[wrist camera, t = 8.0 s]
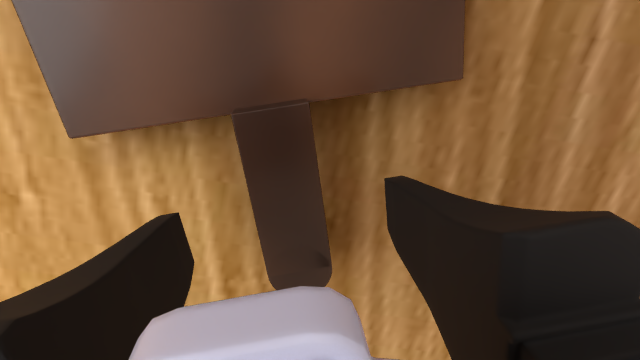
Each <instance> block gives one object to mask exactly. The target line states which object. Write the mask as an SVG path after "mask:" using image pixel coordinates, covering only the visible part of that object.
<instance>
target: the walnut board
mask: <svg viewBox="0 0 640 360" xmlns="http://www.w3.org/2000/svg"><path fill="white" fill-rule="evenodd" d="M12 3H13V5H14V8H15V10H16V12H17V15H18V17H19V19H20V22H21V24H22V27H23V29H24V31H25V34H26V36H27V39H28V41H29V43H30V46H31V48H32V51H33V53H34V55H35V58H36V60H37V62H38V65H39V67H40V70H41V72H42V74H43V77H44V79H45V82H46V84H47V86H48V89H49V91H50V93H51V96H52V98H53V101H54V103H55V105H56V108H57V110H58V113H59V115H60V117H61V120H62V122H63V125H64V127H65V129H66V132H67V134H68V136H69V138H72V139H73V138H80V137H87V136H93V135H100V134H106V133H113V132H120V131H126V130H133V129H139V128H146V127H152V126H159V125H166V124H172V123H179V122H185V121H192V120H199V119H205V118H212V117H218V116H225V115H231V117H232V122H233V126H234V130H235V135H236V139H237V143H238V148H239V152H240V156H241V161H242V165H243V170H244V174H245V178H246V183H247V187H248V191H249V196H250V200H251V204H252V209H253V213H254V217H255V222H256V226H257V230H258V235H259V239H260V244H261V248H262V252H263V257H264V261H265V265H266V270H267V274H268V278H269V281H270V283H271V284H272V286H273V287H274V288H275V289H276V290H282V289H288V288H293V287H299V286H309V287H325V286H326V285H327V283H328V282H329V280H330V277H331V274H332V262H331V255H330V248H329V241H328V234H327V227H326V220H325V213H324V206H323V198H322V191H321V184H320V177H319V170H318V163H317V156H316V149H315V142H314V135H313V128H312V121H311V114H310V107H309V103H311V102H317V101H324V100H330V99H337V98H343V97H350V96H357V95H363V94H370V93H376V92H383V91H390V90H396V89H403V88H409V87H416V86H422V85H429V84H436V83H442V82H449V81H455V80H461V79H463V60H464V21H465V0H12Z"/></svg>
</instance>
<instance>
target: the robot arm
mask: <svg viewBox="0 0 640 360" xmlns="http://www.w3.org/2000/svg"><path fill="white" fill-rule="evenodd" d="M384 181H385V196H386V211H387V226H388V231H389V234H390V236H391V239H392V241H393V244H394V246H395V248H396V251H397V253H398V254H399V256H400V258H401V260H402V261H403V263H404V265H405V266H406V268H407V270H408V271H409V273H410V275H411V276H412V278H413V280H414V282H415V283H416V285H417V287H418V288H419V290H420V292H421V293H422V295H423V297H424V299H425V300H426V302H427V304H428V306H429V308H430V310H431V313H432V315H433V317H434V319H435V322H436V324H437V326H438V328H439V331H440V333H441V335H442V338H443V340H444V342H445V345H446V347H447V349H448V352H449V354H450V357H451V359H452V360H640V299H639V297H640V229H639V228H637V227H636V226H634V225H632V224H631V223H629V222H627V221H626V220H624V219H622V218H620V217H618V216H617V215H615V214H613V213H611V212H609V211H574V212H565V211H544V210H531V209H521V208H514V207H506V206H500V205H494V204H489V203H485V202H480V201H476V200H472V199H468V198H464V197H461V196H458V195H455V194H452V193H449V192H446V191H443V190H440V189H437V188H435V187H432V186H429V185H427V184H424V183H422V182H419V181H417V180H414V179H411V178H408V177H405V176H397V177H391V178H385V179H384ZM193 268H194V259H193V256H192V253H191V250H190V247H189V244H188V240H187V237H186V234H185V231H184V228H183V225H182V222H181V219H180V216H179V212H178V213H172V214H166V215H160V216H158V217H156V218H154V219H152V220H151V221H149V222H147V223H146V224H144V225H143V226H141V227H140V228H138V229H137V230H135V231H134V232H132V233H131V234H129V235H128V236H126V237H125V238H123V239H122V240H120V241H119V242H117V243H116V244H114V245H113V246H111V247H109V248H108V249H106V250H105V251H103V252H102V253H100V254H98V255H97V256H95V257H94V258H92V259H90V260H89V261H87V262H85V263H83V264H82V265H80V266H78V267H76V268H74V269H73V270H71V271H69V272H67V273H65V274H63V275H61V276H59V277H57V278H55V279H53V280H51V281H49V282H46V283H44V284H42V285H40V286H38V287H35V288H33V289H31V290H29V291H26V292H24V293H22V294H20V295H17V296H15V297H13V298H10V299H7V300H5V301H2V302H0V360H398V359H385V358H374V357H372V356H371V355H370V352H369V348H368V345H367V341H366V338H365V334H364V331H363V327H362V324H361V320H360V318H359V316H358V314H357V311H356V309H355V307H354V305H353V303H352V301H351V299H349V298H347V297H345V296H344V295H342V294H340V293H338V292H337V291H335V290H333V289H331V288H329V287H309V286H299V287H293V288H288V289H282V290H276V291H271V292H265V293H260V294H254V295H248V296H243V297H237V298H231V299H226V300H220V301H215V302H209V303H203V304H198V305H192V306H186V307H184V304H185V301H186V298H187V295H188V292H189V289H190V285H191V280H192V275H193Z"/></svg>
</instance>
